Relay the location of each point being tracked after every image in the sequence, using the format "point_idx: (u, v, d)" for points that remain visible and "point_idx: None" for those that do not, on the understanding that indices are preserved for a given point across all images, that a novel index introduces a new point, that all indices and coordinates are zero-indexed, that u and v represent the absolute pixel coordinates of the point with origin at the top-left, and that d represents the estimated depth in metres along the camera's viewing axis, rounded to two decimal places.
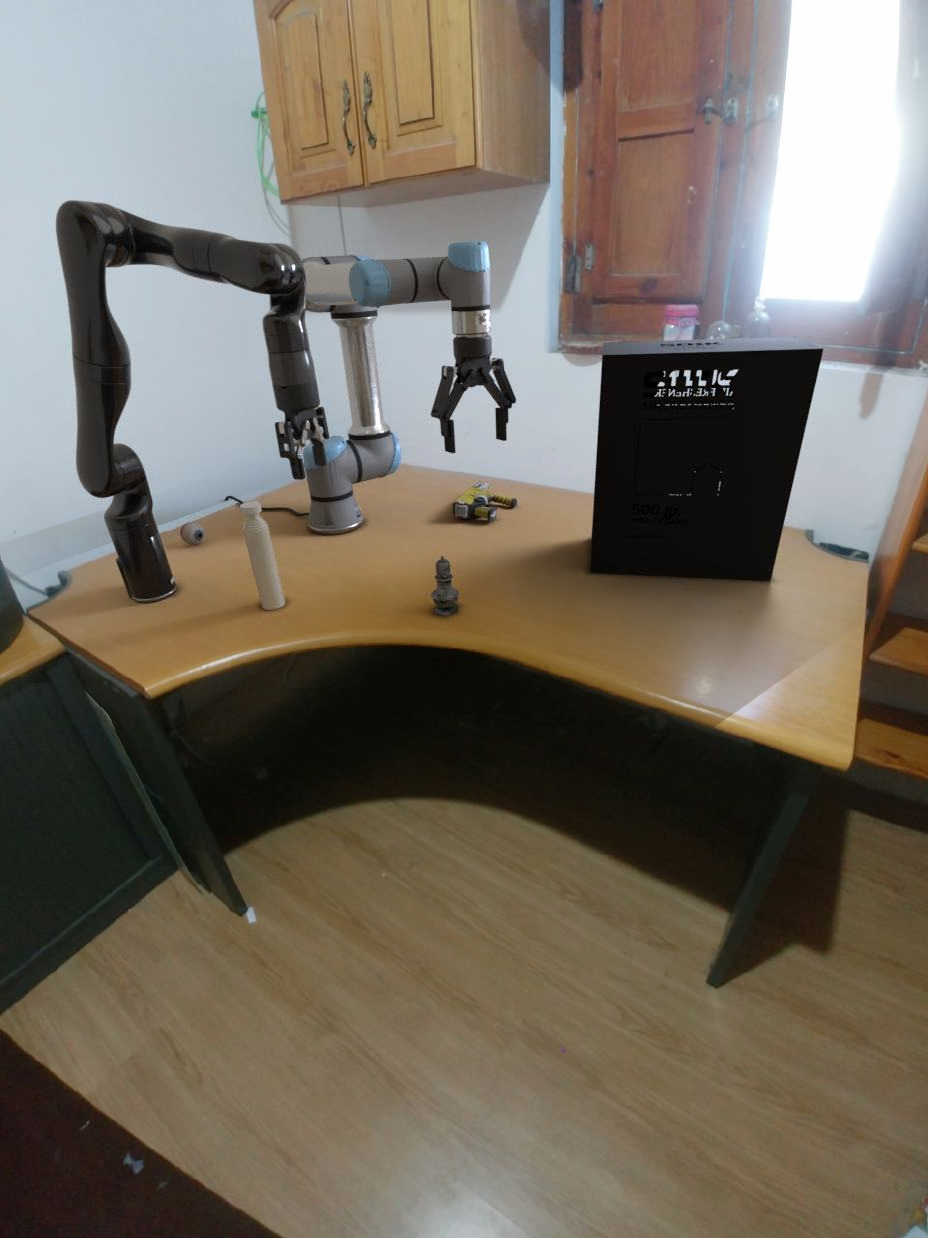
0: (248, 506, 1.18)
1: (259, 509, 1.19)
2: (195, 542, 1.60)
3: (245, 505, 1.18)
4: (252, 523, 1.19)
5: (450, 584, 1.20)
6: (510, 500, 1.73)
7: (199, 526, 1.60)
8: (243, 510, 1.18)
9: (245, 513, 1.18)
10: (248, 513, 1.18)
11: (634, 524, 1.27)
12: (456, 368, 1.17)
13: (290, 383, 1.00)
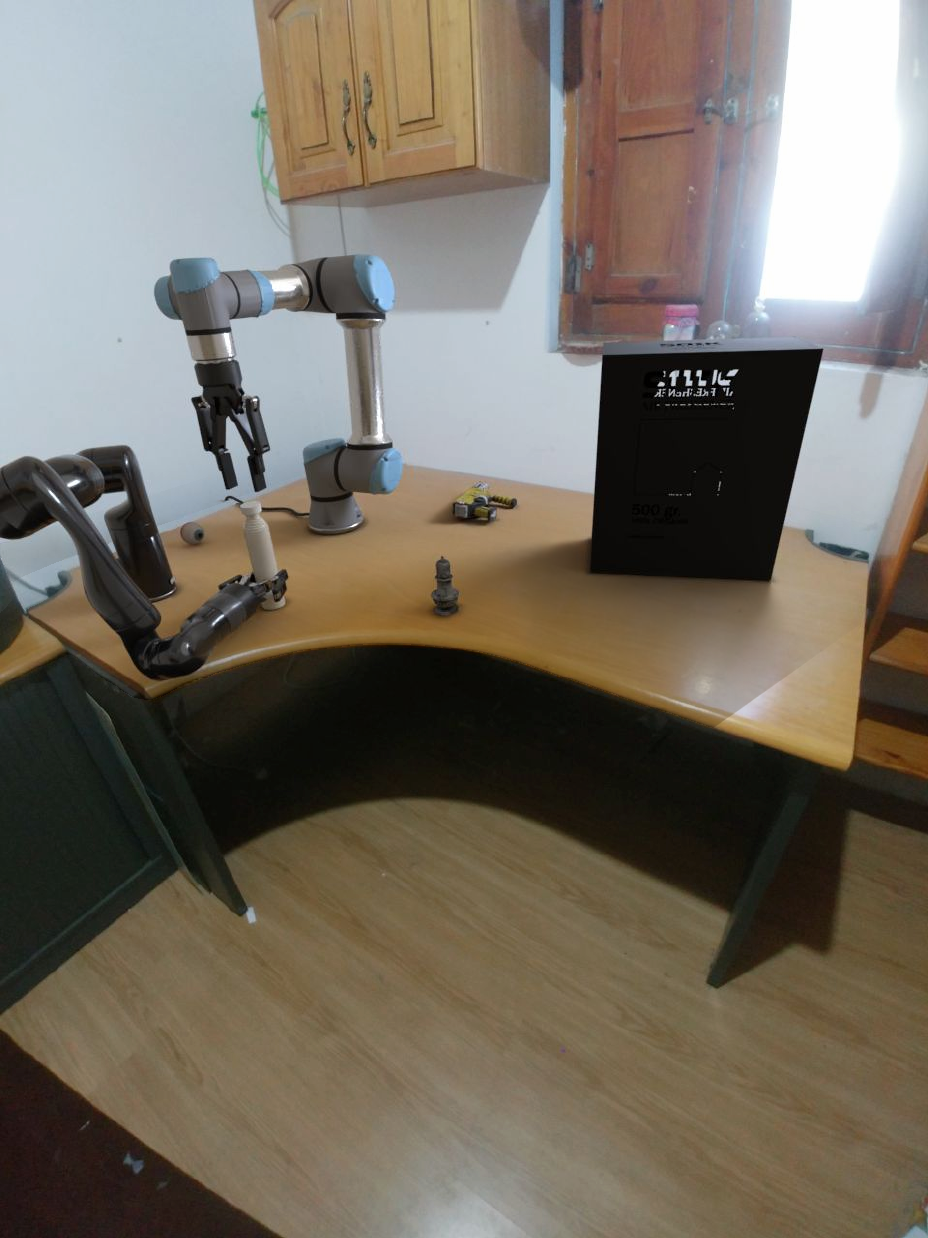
0: (248, 506, 1.18)
1: (259, 509, 1.19)
2: (195, 542, 1.60)
3: (245, 505, 1.18)
4: (252, 523, 1.19)
5: (450, 584, 1.20)
6: (510, 500, 1.73)
7: (199, 526, 1.60)
8: (243, 510, 1.18)
9: (245, 513, 1.18)
10: (248, 513, 1.18)
11: (634, 524, 1.27)
12: None
13: None
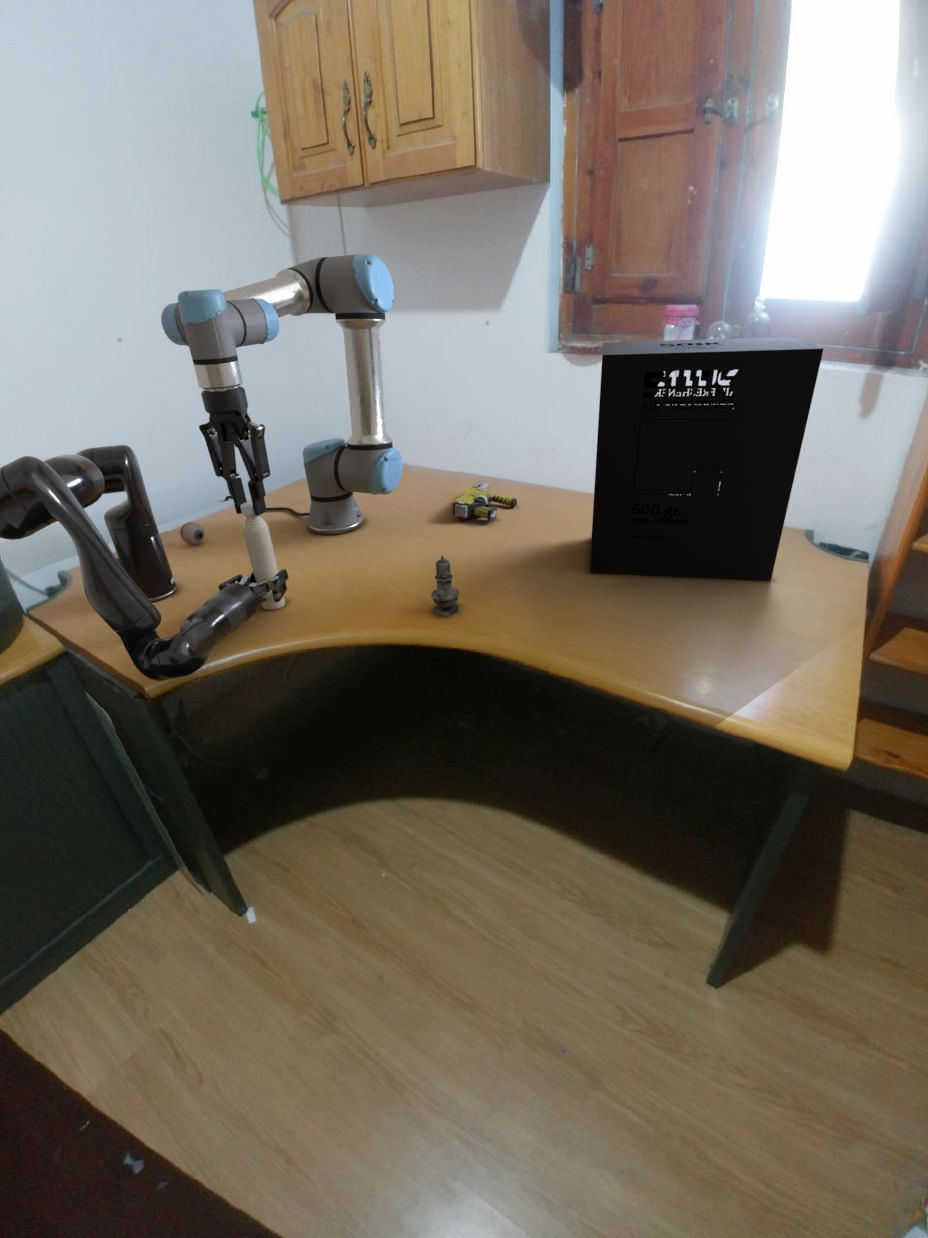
0: (248, 506, 1.18)
1: None
2: (195, 542, 1.60)
3: (245, 505, 1.18)
4: (252, 523, 1.19)
5: (450, 584, 1.20)
6: (510, 500, 1.73)
7: (199, 526, 1.60)
8: (243, 510, 1.18)
9: (245, 513, 1.18)
10: (248, 513, 1.18)
11: (634, 524, 1.27)
12: None
13: None
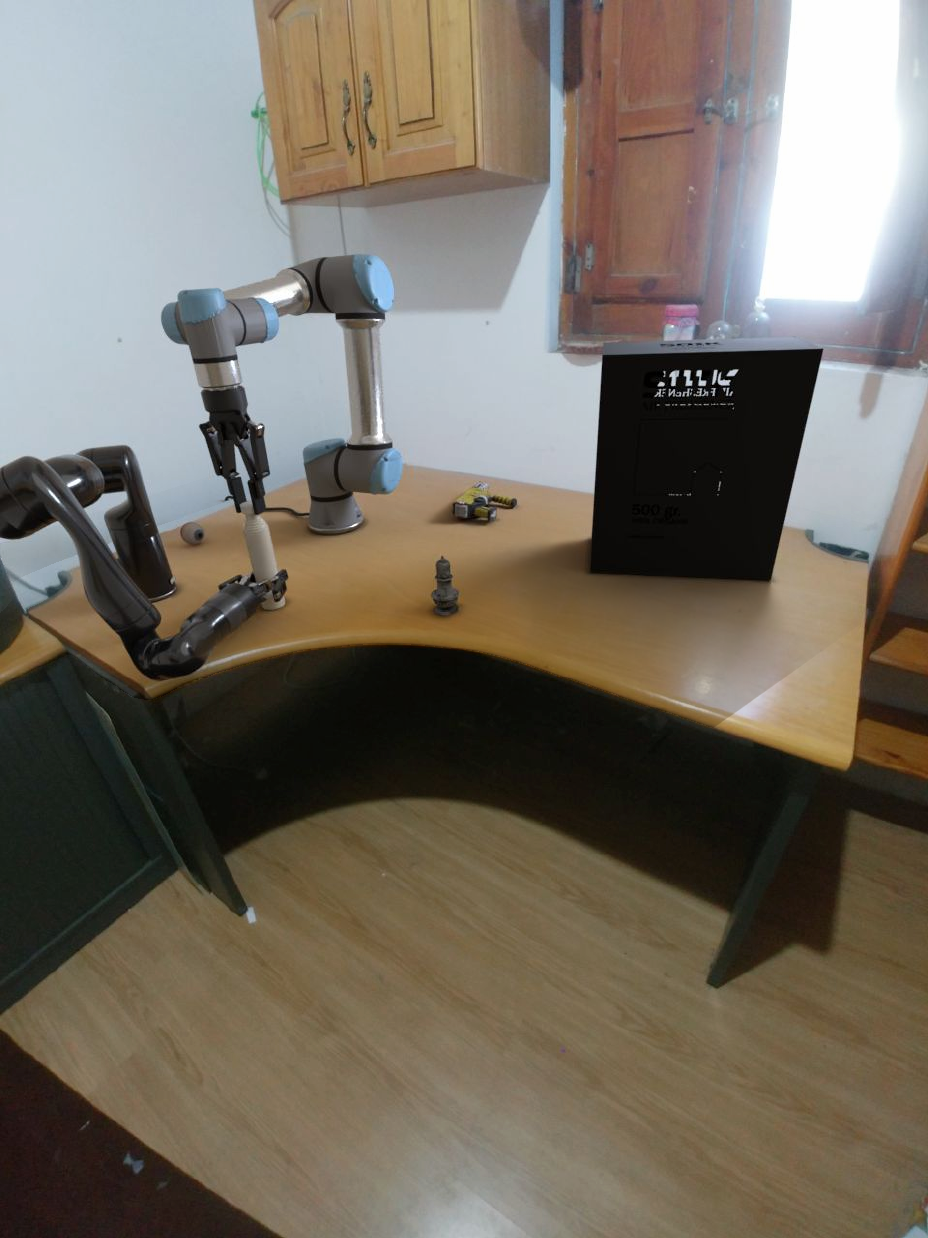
0: None
1: None
2: (195, 542, 1.60)
3: None
4: (252, 523, 1.19)
5: (450, 584, 1.20)
6: (510, 500, 1.73)
7: (199, 526, 1.60)
8: None
9: None
10: None
11: (634, 524, 1.27)
12: None
13: None
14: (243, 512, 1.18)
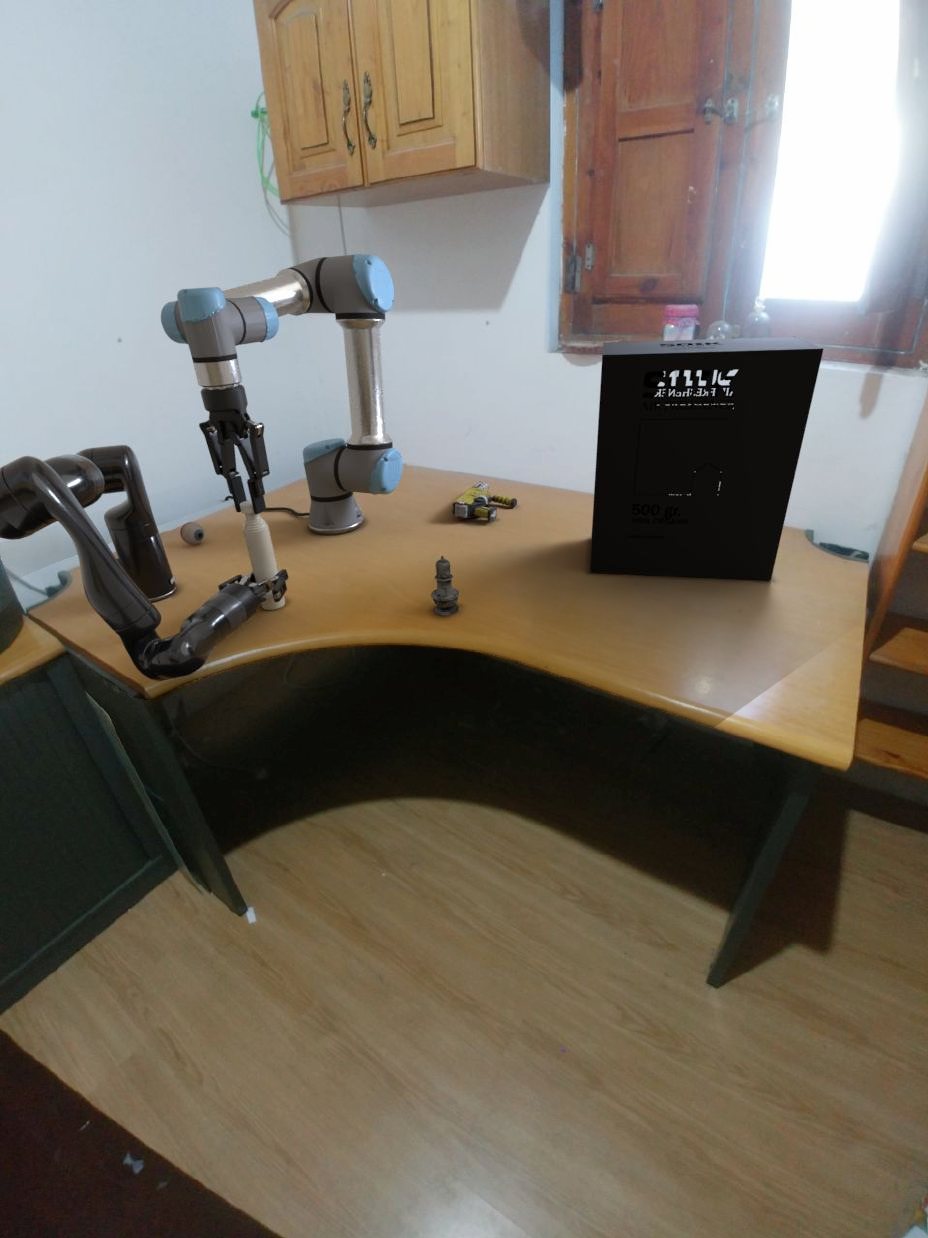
0: (243, 503, 1.18)
1: (248, 510, 1.17)
2: (195, 542, 1.60)
3: (247, 502, 1.19)
4: (252, 523, 1.19)
5: (450, 584, 1.20)
6: (510, 500, 1.73)
7: (199, 526, 1.60)
8: None
9: None
10: (241, 510, 1.19)
11: (634, 524, 1.27)
12: None
13: None
14: None
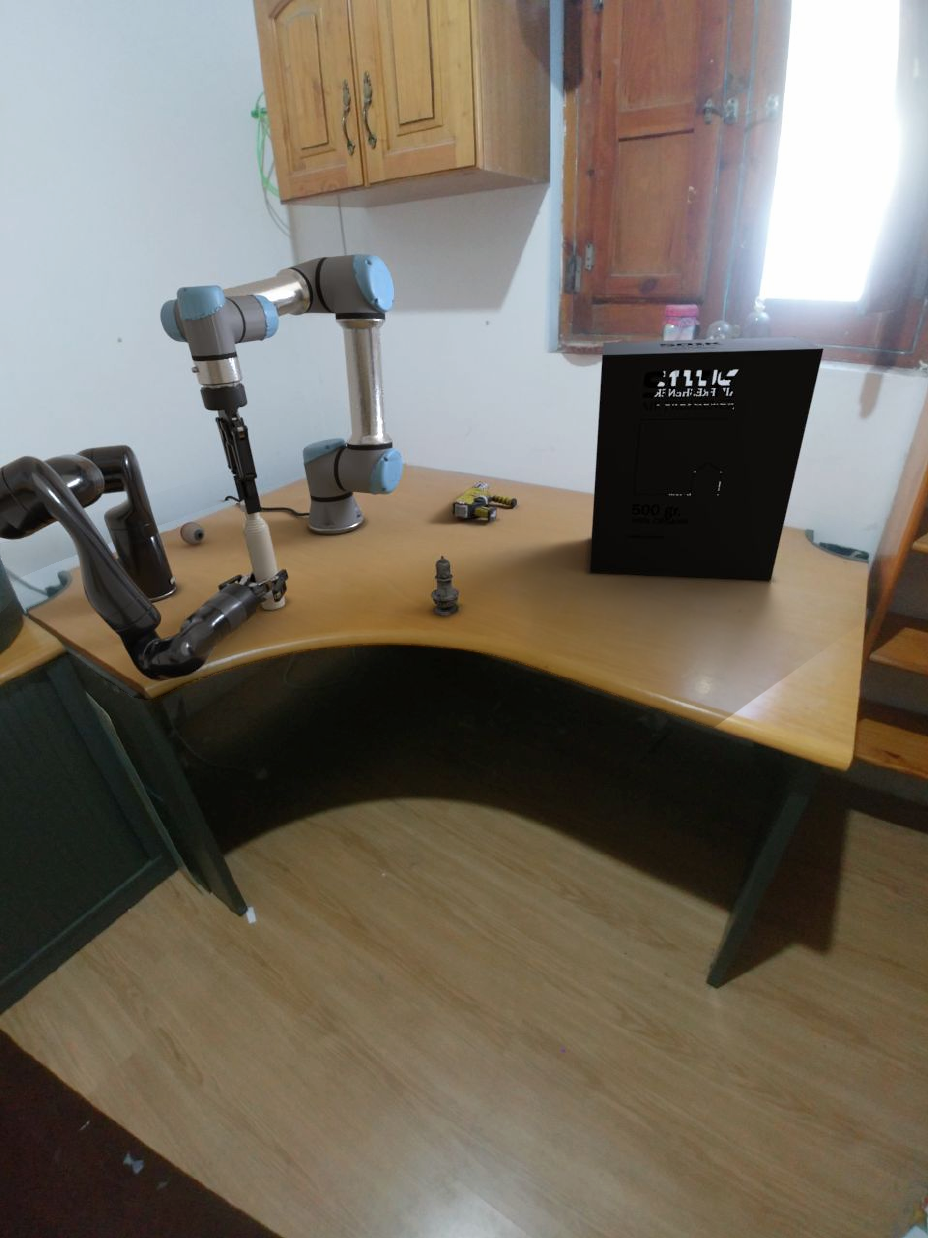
0: None
1: None
2: (195, 542, 1.60)
3: None
4: (252, 523, 1.19)
5: (450, 584, 1.20)
6: (510, 500, 1.73)
7: (199, 526, 1.60)
8: None
9: None
10: None
11: (634, 524, 1.27)
12: None
13: None
14: None
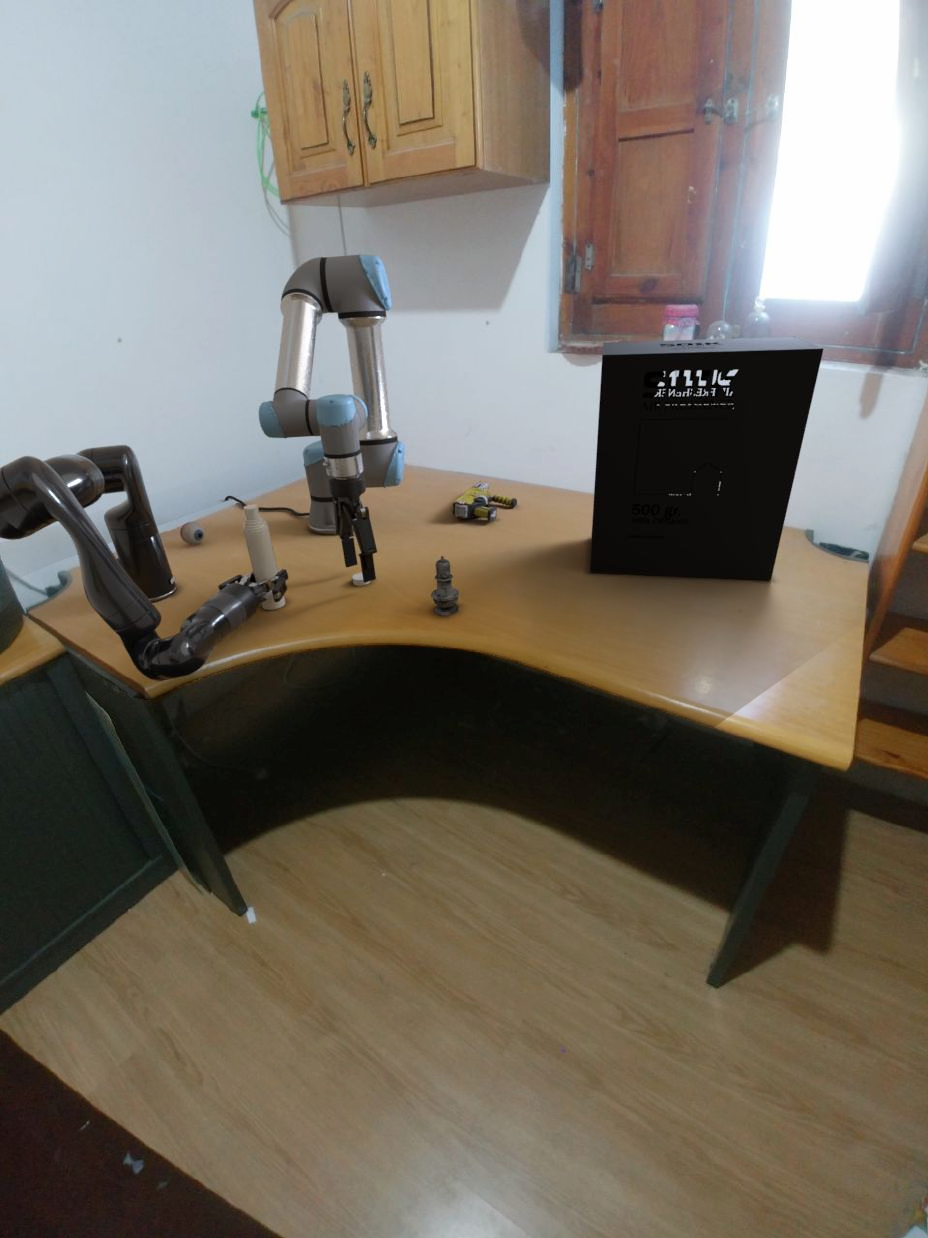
0: None
1: None
2: (195, 542, 1.60)
3: (361, 577, 1.36)
4: (252, 523, 1.19)
5: (450, 584, 1.20)
6: (510, 500, 1.73)
7: (199, 526, 1.60)
8: None
9: (367, 582, 1.36)
10: (369, 581, 1.37)
11: (634, 524, 1.27)
12: None
13: None
14: None
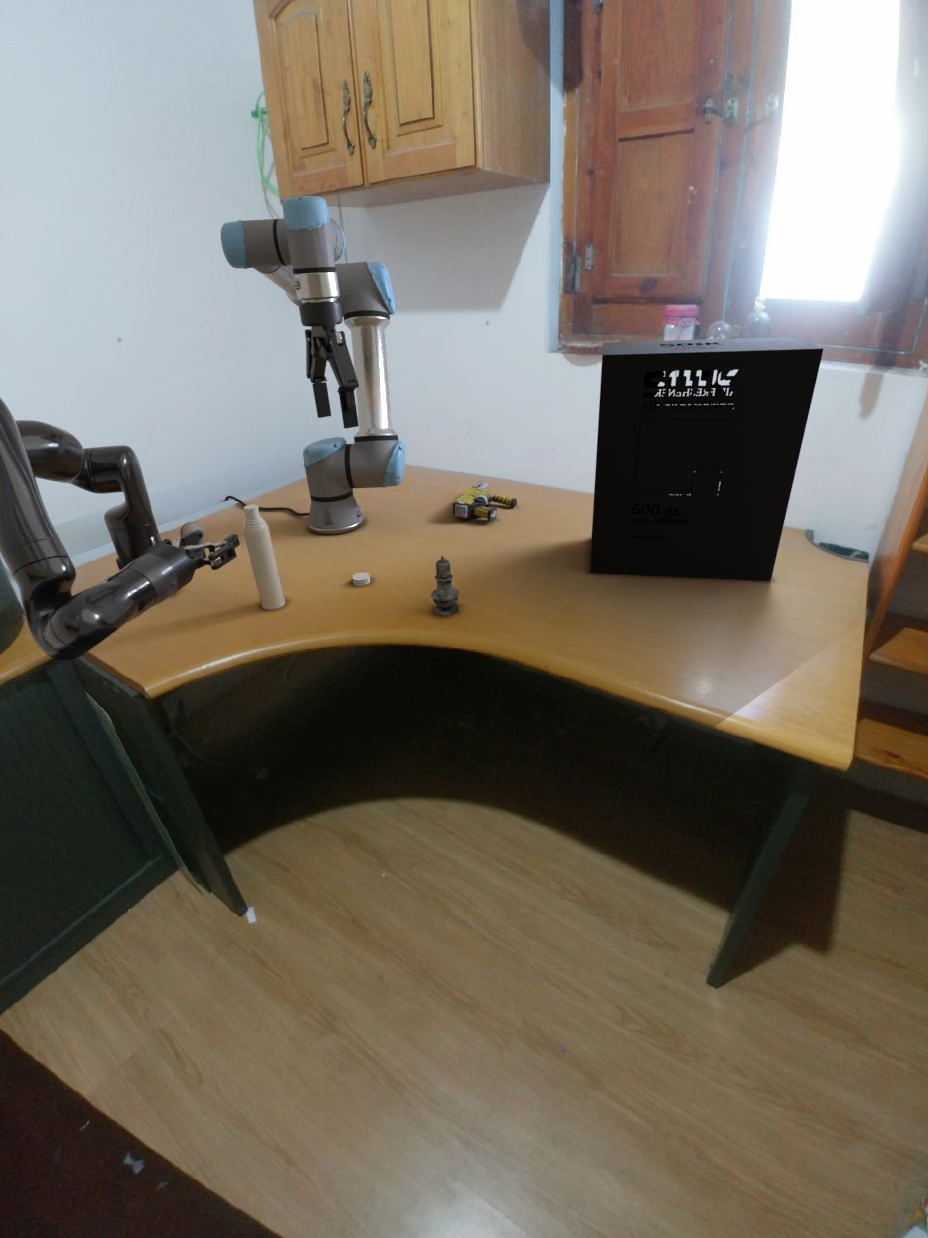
0: (365, 576, 1.36)
1: None
2: None
3: (361, 577, 1.36)
4: (252, 523, 1.19)
5: (450, 584, 1.20)
6: (510, 500, 1.73)
7: (199, 526, 1.60)
8: (366, 580, 1.36)
9: (367, 582, 1.36)
10: (369, 581, 1.37)
11: (634, 524, 1.27)
12: None
13: None
14: None
